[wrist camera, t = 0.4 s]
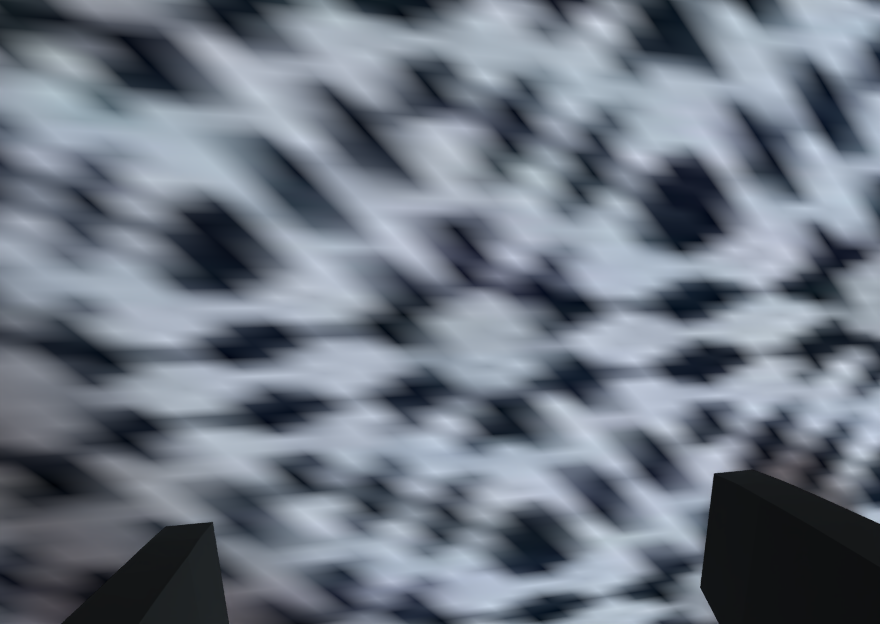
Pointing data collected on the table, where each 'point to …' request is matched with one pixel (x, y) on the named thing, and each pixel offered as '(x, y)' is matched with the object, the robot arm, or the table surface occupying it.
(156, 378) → the table surface
